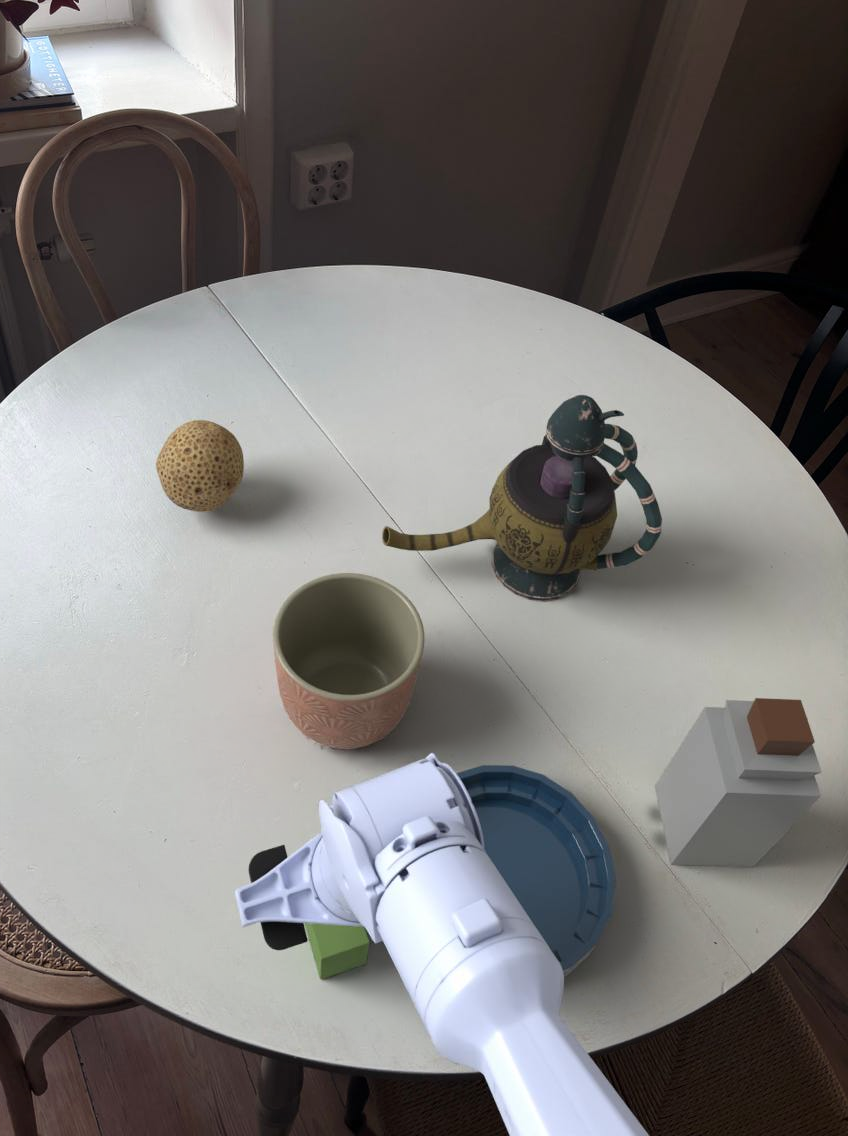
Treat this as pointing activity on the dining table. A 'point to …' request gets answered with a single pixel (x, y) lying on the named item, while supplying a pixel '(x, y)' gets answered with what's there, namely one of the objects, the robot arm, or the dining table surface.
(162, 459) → the natural sponge
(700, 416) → the dining table surface
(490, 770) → the bowl
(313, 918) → the robot arm
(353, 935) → the scrub pad
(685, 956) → the dining table surface
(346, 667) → the planter
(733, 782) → the perfume bottle
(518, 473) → the teapot
